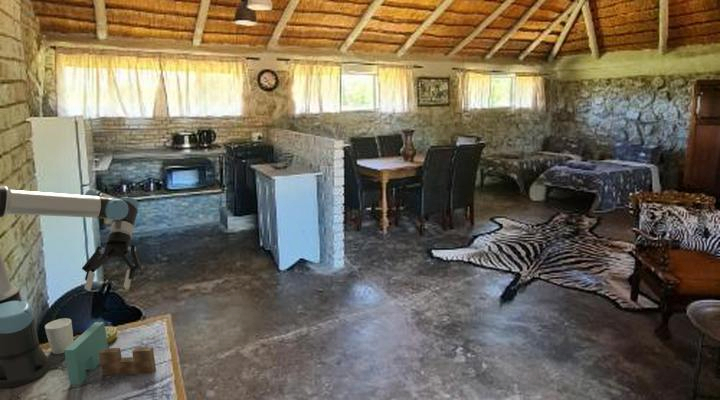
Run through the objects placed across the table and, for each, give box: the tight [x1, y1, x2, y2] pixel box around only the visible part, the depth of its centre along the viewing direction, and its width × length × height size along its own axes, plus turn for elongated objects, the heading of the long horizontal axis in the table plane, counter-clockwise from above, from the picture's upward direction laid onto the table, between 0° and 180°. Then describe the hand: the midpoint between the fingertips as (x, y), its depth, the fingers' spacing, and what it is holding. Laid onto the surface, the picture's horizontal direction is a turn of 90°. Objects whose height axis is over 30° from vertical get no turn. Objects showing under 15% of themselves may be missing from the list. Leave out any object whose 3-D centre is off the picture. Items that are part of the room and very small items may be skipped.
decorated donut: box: [105, 325, 118, 344], centre depth 170 cm, size 10×11×4 cm
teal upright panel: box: [63, 321, 109, 386], centre depth 151 cm, size 18×3×12 cm, turn 2°
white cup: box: [44, 317, 74, 355], centre depth 164 cm, size 8×8×10 cm
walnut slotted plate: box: [99, 346, 157, 376], centre depth 149 cm, size 16×2×8 cm, turn 92°
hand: (106, 288), depth 164 cm, fingers open, 13 cm apart
